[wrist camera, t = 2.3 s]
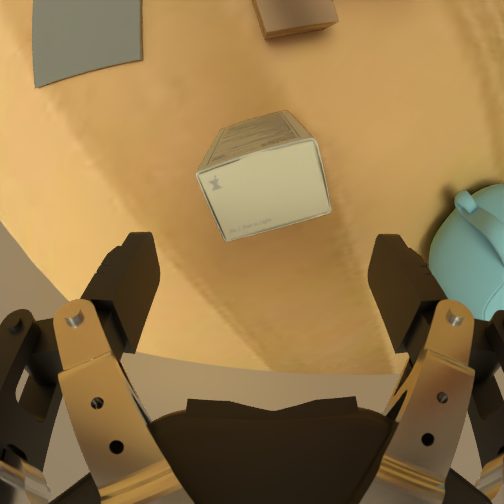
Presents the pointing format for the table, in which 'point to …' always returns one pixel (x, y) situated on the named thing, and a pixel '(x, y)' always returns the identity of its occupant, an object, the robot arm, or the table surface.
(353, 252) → the table surface
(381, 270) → the robot arm
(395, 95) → the table surface
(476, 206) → the decorative pot
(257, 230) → the skincare box
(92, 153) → the table surface
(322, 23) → the walnut block
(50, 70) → the coaster
